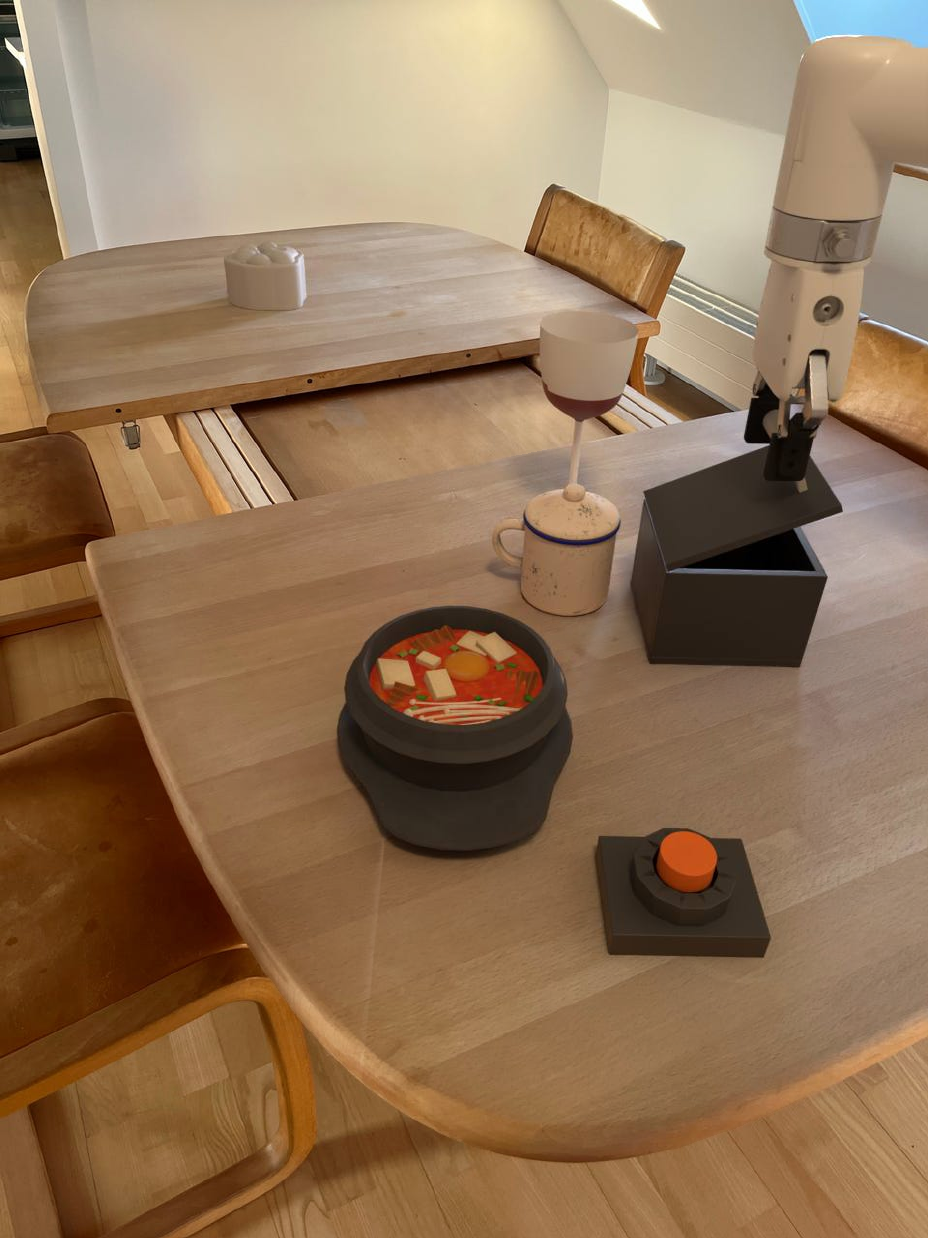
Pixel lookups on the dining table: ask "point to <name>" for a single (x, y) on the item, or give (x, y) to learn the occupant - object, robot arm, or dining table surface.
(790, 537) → the grey hinged-lid box
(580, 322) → the wineglass
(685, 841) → the button
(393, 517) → the dining table surface
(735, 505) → the lid
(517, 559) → the teacup with lid
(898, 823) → the dining table surface
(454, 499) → the dining table surface
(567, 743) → the casserole
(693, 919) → the control block
